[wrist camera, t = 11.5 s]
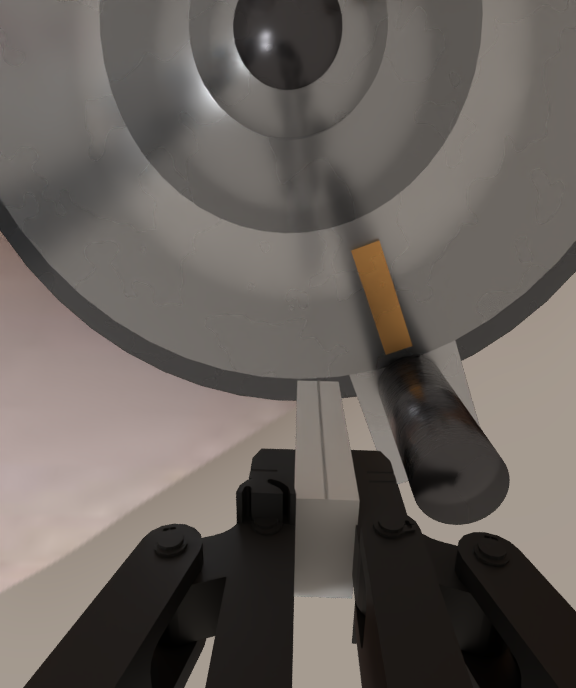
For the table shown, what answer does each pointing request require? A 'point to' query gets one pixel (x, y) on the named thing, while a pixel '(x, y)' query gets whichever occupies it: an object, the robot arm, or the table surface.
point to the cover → (290, 99)
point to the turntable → (311, 238)
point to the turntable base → (248, 383)
